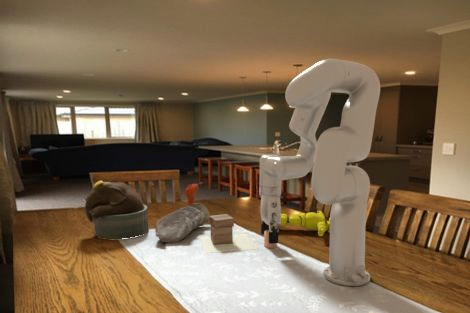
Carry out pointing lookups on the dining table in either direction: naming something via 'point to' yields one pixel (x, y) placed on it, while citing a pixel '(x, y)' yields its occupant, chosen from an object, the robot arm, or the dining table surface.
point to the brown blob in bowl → (116, 211)
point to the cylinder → (266, 240)
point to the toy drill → (192, 192)
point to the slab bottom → (221, 240)
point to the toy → (307, 221)
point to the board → (238, 244)
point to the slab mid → (222, 231)
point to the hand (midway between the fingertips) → (269, 238)
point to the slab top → (221, 221)
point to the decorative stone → (181, 222)
